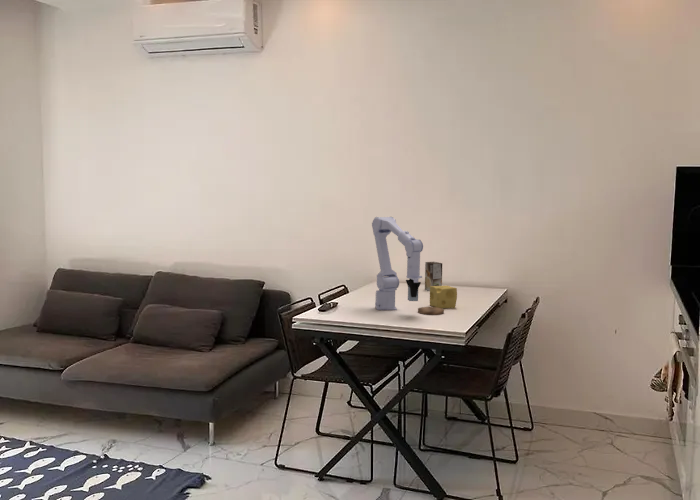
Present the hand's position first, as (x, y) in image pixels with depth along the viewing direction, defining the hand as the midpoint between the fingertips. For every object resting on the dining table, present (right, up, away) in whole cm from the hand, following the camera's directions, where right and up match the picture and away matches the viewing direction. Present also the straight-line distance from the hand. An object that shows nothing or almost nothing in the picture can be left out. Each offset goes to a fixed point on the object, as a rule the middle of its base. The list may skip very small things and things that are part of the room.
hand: (412, 296), depth 305 cm
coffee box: (+19, -2, +74) cm, 77 cm away
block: (0, -2, 0) cm, 2 cm away
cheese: (+17, -7, +24) cm, 30 cm away
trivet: (+9, -8, +9) cm, 15 cm away
